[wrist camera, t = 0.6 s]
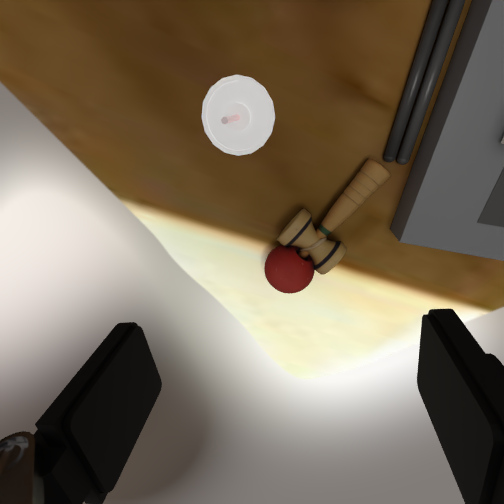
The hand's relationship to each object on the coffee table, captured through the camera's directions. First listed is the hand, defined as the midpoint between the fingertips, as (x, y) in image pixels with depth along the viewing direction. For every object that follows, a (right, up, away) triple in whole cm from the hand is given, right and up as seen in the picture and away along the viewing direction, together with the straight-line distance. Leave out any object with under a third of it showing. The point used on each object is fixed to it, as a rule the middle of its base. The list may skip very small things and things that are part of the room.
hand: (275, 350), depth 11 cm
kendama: (+8, +7, +28) cm, 30 cm away
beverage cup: (-1, +18, +23) cm, 30 cm away
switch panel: (+24, +16, +20) cm, 35 cm away
